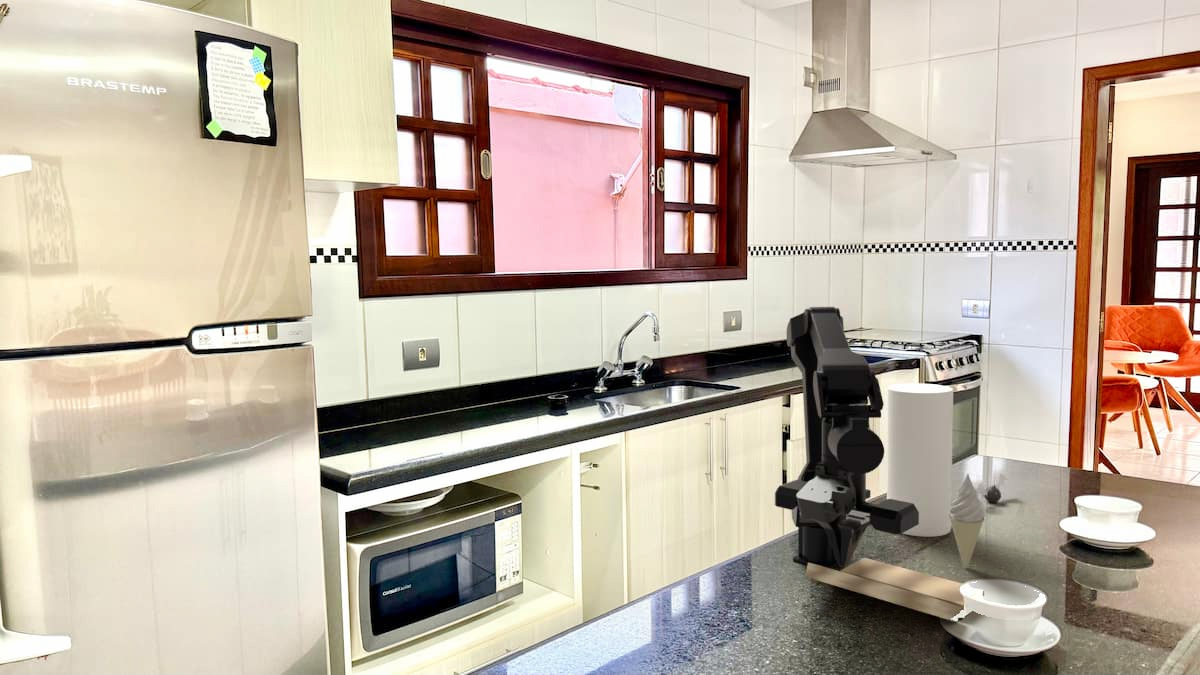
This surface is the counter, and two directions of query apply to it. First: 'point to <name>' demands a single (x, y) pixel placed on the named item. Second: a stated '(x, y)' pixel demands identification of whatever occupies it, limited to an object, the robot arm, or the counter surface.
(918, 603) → the oak plank
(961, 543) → the ice cream cone
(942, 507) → the tall pillar cylinder
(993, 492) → the bat toy
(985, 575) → the counter surface
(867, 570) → the floor strip
